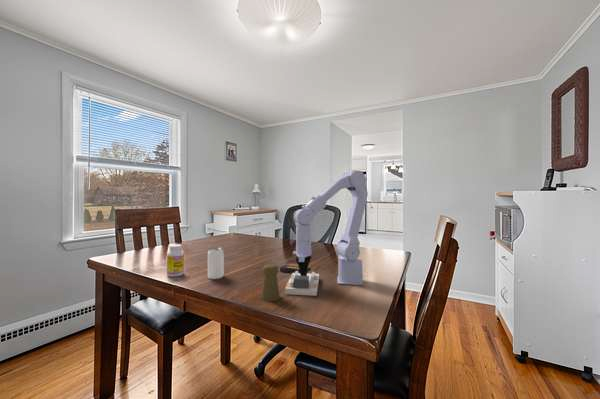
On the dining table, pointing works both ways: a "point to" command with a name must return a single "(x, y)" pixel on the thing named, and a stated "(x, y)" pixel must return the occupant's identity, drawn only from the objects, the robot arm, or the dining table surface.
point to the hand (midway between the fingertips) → (303, 276)
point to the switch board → (303, 291)
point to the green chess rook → (270, 283)
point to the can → (215, 263)
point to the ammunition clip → (290, 268)
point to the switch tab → (301, 281)
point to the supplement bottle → (175, 261)
